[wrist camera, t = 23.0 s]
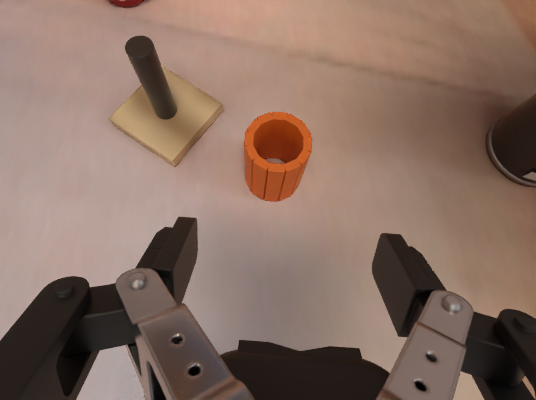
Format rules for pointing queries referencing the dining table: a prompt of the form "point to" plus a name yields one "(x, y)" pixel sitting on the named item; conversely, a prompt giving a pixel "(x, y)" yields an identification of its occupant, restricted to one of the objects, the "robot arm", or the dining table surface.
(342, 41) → the dining table surface
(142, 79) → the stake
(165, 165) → the dining table surface
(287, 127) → the orange collar
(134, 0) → the smoothie
